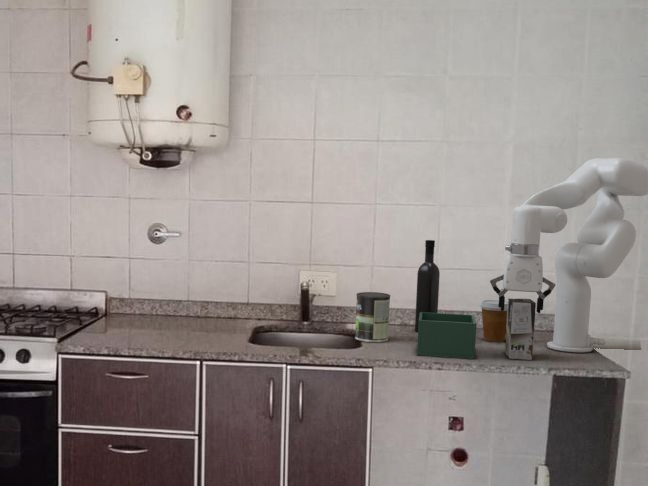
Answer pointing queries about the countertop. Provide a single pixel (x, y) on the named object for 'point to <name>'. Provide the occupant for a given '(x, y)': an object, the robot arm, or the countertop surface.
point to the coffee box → (520, 328)
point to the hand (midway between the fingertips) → (520, 311)
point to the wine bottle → (427, 284)
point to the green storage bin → (446, 335)
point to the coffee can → (372, 317)
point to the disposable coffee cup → (494, 320)
